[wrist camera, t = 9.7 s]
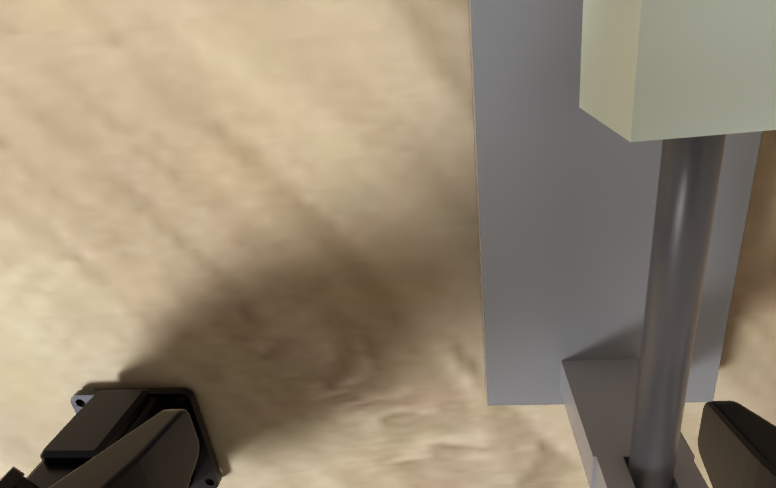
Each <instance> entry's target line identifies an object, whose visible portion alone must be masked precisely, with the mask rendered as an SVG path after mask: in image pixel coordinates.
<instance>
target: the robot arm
mask: <svg viewBox="0 0 776 488" xmlns="http://www.w3.org/2000/svg"><path fill="white" fill-rule="evenodd" d="M181 397H182V398H181ZM183 398H184V399H183ZM71 404H72V406H73V408H74V410H75V412H76V415H75V416H74V417H73V418H72V420H71V421H70V422H69V423H68V424H67V425H66V426H65V427H64V428H63V429H62V430H61V431H60V432H59V434H58V435H57V436H56V437H55V438H54V439H53V440H52V441H51V442H50V443H49V444H48V445H47V446H46V448H45V449H44V450H43V452H42V453H41V455H40V456H41V459H42V461H41V462H40V464H39V465H38V466H37V467H36V468H35V469H34V470H33V471H32V472H31V473H30V475H29V476H28V477H27V478H25V477H23V476H24V473H23V472H21V471H20V470H18V469H17V468H15V467H12V468H11V469H10V470H9V471H8V472H7V473H6V474H5V475H4V476H3V477H2V478H1V479H0V488H217V487H218V485H219V483H220V481H221V479H222V476H221V473H220V470H219V467H218V464H217V461H216V458H215V455H214V452H213V449H212V446H211V443H210V440H209V437H208V434H207V431H206V428H205V425H204V422H203V419H202V416H201V413H200V410H199V407H198V404H197V401H196V398H195V396H194V394H193V392H192V391H190V390H189V389H187V388H147V389H102V390H79V391H78V392H77V393H76V394H75V395H74V396H73V397H72V398H71ZM698 448H699V452H700V455H701V458H702V461H703V463H704V466H705V468H706V471H707V474H708V476H709V479H710V481H711V484H712V486H713V488H776V426H774V425H773V424H771V423H770V422H768V421H766V420H765V419H763V418H762V417H760V416H758V415H757V414H755V413H754V412H752V411H750V410H749V409H747V408H745V407H744V406H742V405H741V404H739V403H737V402H734V401H710V402H707V403H706V404H705V406H704V408H703V413H702V419H701V425H700V430H699V436H698Z"/></svg>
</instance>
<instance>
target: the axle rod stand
mask: <svg viewBox="0 0 776 488" xmlns="http://www.w3.org/2000/svg"><path fill="white" fill-rule="evenodd" d="M468 6H469V28H470V50H471V73H472V95H473V118H474V140H475V163H476V185H477V208H478V230H479V253H480V275H481V298H482V320H483V343H484V365H485V385H486V394H487V403H488V405H548V404H565V408H566V411H567V414H568V417H569V421H570V424H571V427H572V430H573V434H574V437H575V440H576V443H577V447H578V450H579V453H580V457H581V460H582V463H583V466H584V470H585V473H586V476H587V479H588V483H589V486H590V488H709V487H708V486H707V484H706V482H705V480H704V479H703V477H702V475H701V473H700V471H699V470H698V468H697V466H696V464H695V462H694V457H695V456H694V454H693V453H692V451H691V449H690V447H689V446H688V444H687V442H686V440H685V438H684V437H683V435H682V433H681V431H680V430H681V424H682V417H683V411H684V405H685V402H710V401H713V398H714V392H715V387H716V381H717V376H718V370H719V365H720V359H721V354H722V349H723V343H724V338H725V332H726V327H727V321H728V316H729V310H730V305H731V300H732V294H733V289H734V283H735V278H736V272H737V267H738V261H739V256H740V251H741V245H742V240H743V234H744V229H745V223H746V218H747V212H748V207H749V201H750V196H751V191H752V185H753V180H754V174H755V169H756V163H757V158H758V152H759V147H760V142H761V136H762V131H758V132H746V133H734V134H723V135H711V136H699V137H687V138H675V139H663V140H651V141H640V142H629V141H628V140H626V139H625V138H623V137H622V136H620V135H619V134H618V133H616V132H615V131H613V130H612V129H610V128H609V127H607V126H606V125H604V124H603V123H601V122H600V121H598V120H597V119H595V118H594V117H593V116H591V115H590V114H588V113H587V112H585V111H584V110H582V109H581V108H579V97H580V71H581V45H582V18H583V0H468Z"/></svg>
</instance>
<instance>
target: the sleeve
mask: <svg viewBox="0 0 776 488" xmlns="http://www.w3.org/2000/svg"><path fill="white" fill-rule="evenodd" d="M579 108H581V109H582V110H584V111H585V112H587V113H588V114H590V115H591V116H593V117H594V118H595V119H597V120H598V121H600V122H601V123H603V124H604V125H606V126H607V127H609V128H610V129H612V130H613V131H615V132H616V133H618V134H619V135H620V136H622V137H623V138H625V139H626V140H628V141H629V142H640V141H651V140H663V139H675V138H687V137H699V136H711V135H723V134H734V133H746V132H758V131H770V130H776V0H583V18H582V45H581V71H580V97H579Z"/></svg>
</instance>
